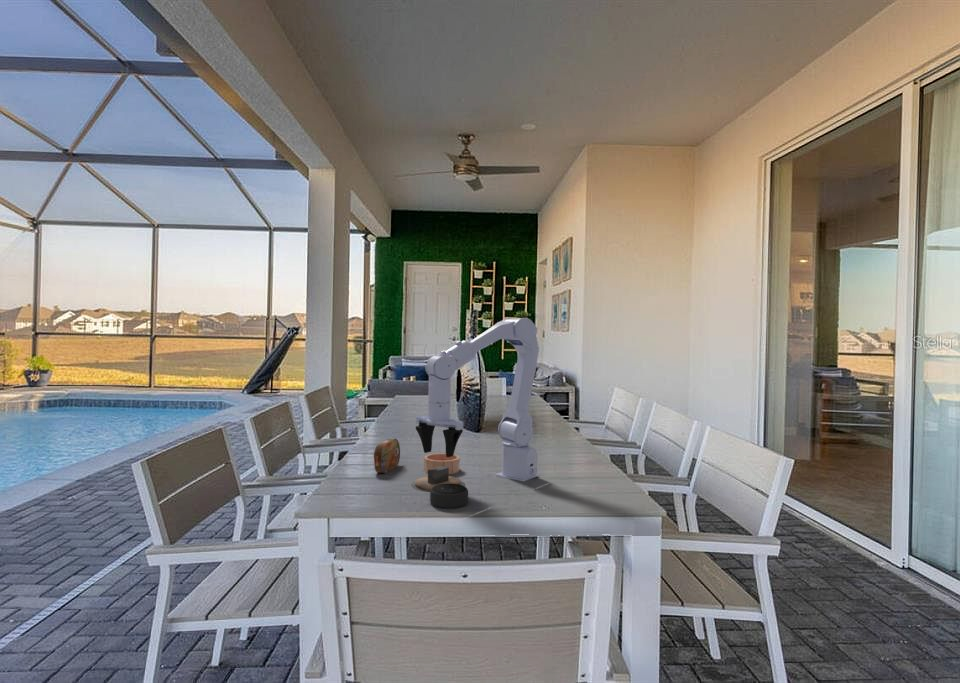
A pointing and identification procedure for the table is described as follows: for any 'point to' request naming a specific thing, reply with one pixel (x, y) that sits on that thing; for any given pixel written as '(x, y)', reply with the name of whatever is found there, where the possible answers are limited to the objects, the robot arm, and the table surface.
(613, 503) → the table surface
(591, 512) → the table surface
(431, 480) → the lid
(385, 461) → the tin
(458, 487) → the smart speaker
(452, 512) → the table surface
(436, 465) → the bowl
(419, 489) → the coaster
